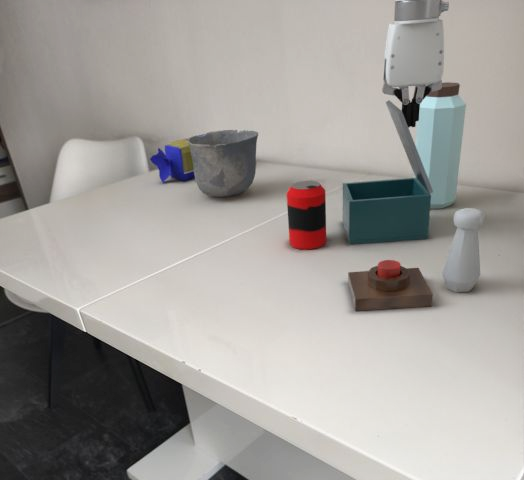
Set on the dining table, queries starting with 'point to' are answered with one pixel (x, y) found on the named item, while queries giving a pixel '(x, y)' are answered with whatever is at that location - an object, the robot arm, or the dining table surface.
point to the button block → (389, 290)
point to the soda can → (306, 215)
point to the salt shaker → (464, 252)
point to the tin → (385, 210)
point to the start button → (389, 269)
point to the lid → (409, 145)
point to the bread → (175, 161)
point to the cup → (224, 161)
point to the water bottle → (441, 141)
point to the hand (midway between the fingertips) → (409, 125)
